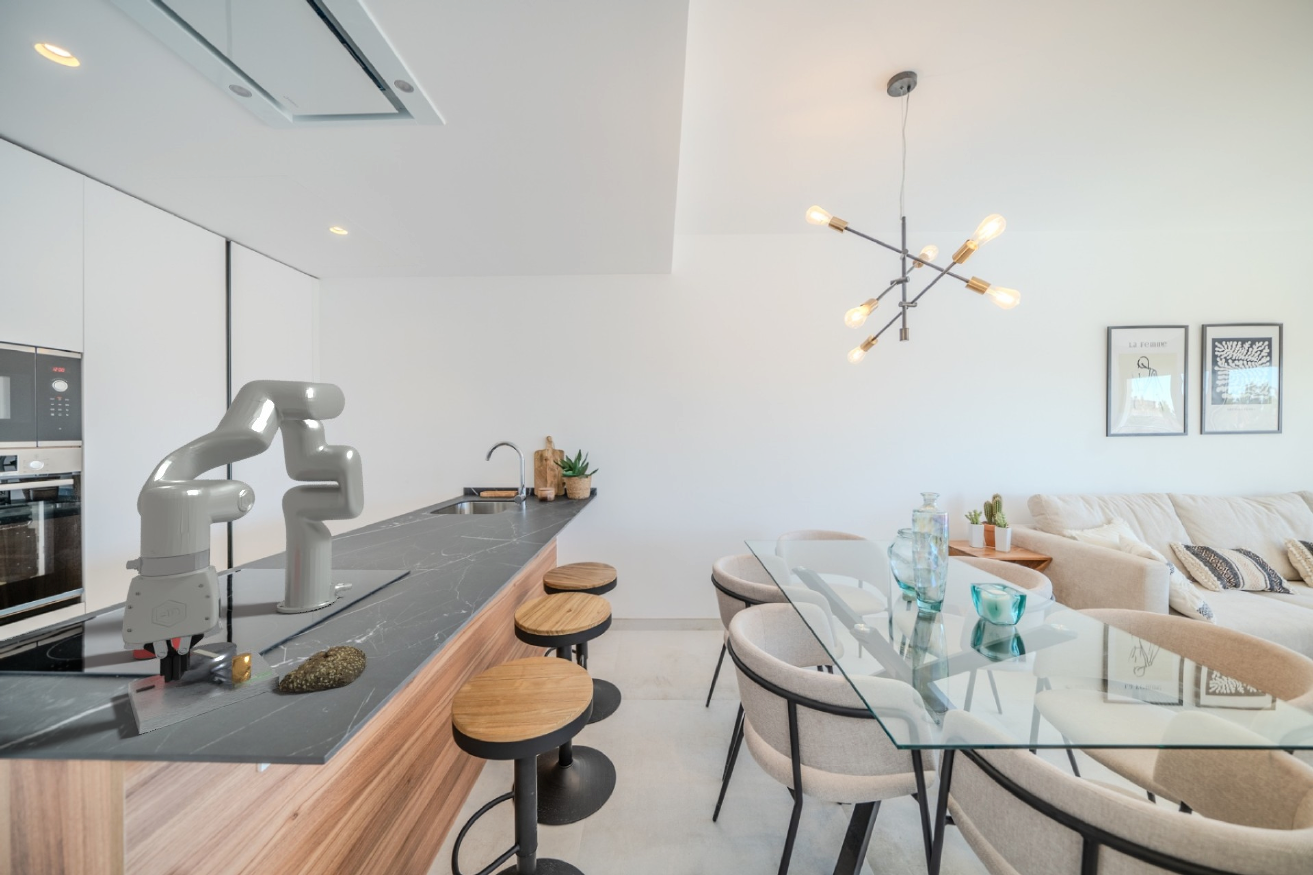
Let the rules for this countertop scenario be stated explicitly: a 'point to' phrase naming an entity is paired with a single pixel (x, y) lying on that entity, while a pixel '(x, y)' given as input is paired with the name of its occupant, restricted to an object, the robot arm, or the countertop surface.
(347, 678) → the bread roll
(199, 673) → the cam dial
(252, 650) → the plate
